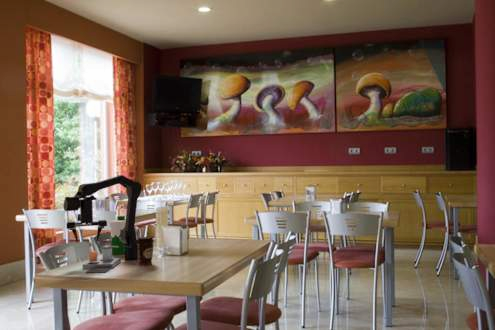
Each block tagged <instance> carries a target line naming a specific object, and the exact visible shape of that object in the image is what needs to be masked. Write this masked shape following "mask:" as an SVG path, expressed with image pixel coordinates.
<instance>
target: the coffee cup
mask: <svg viewBox="0 0 495 330" xmlns="http://www.w3.org/2000/svg"><path fill="white" fill-rule="evenodd" d="M154 241H155V240H154V237H153V236H140V237H138V238H137V241H136V243H137V246H138V258H139V259H138V265H139V266H150V265H153V261H152V260H153V254H154Z"/></svg>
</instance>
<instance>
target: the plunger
mask: <svg viewBox="0 0 495 330" xmlns="http://www.w3.org/2000/svg"><path fill="white" fill-rule="evenodd" d="M97 259H98V251H97V250H92V251H91V250H90V251H89V252H88V261H89V262H95V261H97Z"/></svg>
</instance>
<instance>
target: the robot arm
mask: <svg viewBox="0 0 495 330" xmlns="http://www.w3.org/2000/svg"><path fill="white" fill-rule="evenodd" d="M118 184H119V185H120V186H121V187H123V188H125V191H126V196H127V205H126V213H125V214H126V215H125V220H126V222H125V227H124V229H123V230H120V239H121V241H122V243H124V246H126V247H125V249H126V250H124V253H125V254H124V260H125V261H126V260H128V261H133V260H135V261H136V260H139V258H138V246H137V243H136V241H137V240H138V238H137V232H136V228H135V225H136V223H135V222H136V215H137V204H138V199H139V197H140V195H141V193H142V188H143V185H142V184H141V182H139V181H134V180H132V179H130V178H128V177H127V176H125V175H123V174H117V175H116V176H113V177H108V178H106V179H103V180H100V181H96V182H89V183H82V184H79V186H78V189H77V192H76V193H75V195H74V196H65V197H64V201H63V206H62V207H63V209H64V212H74V211H75V212H76V211H80V212H79V214H77V217H76V218H77V222H76V221H75V220H73V221H67V222H66V229H68V230H69V231H72V234H73V236H74V238H75V240H76V243H78V242H79V241H78V240H79V239H78V232H77V227H78V228H79V227H93V226H97V231H96V232H97V233H96V242H98V241H99V239H100V235H101V232H102V231H103V229H105V227H107V226H108V221H107V219H98V221H94V215H93V214H94V213H93V212H94V211H93V201H94V200H95V201H97V200H98V199H97V197H95V196H94V194H96V193H97V192H99V191H100V190H103V189H106V188H110V187H113V186H116V185H118ZM79 209H80V210H79Z"/></svg>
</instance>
